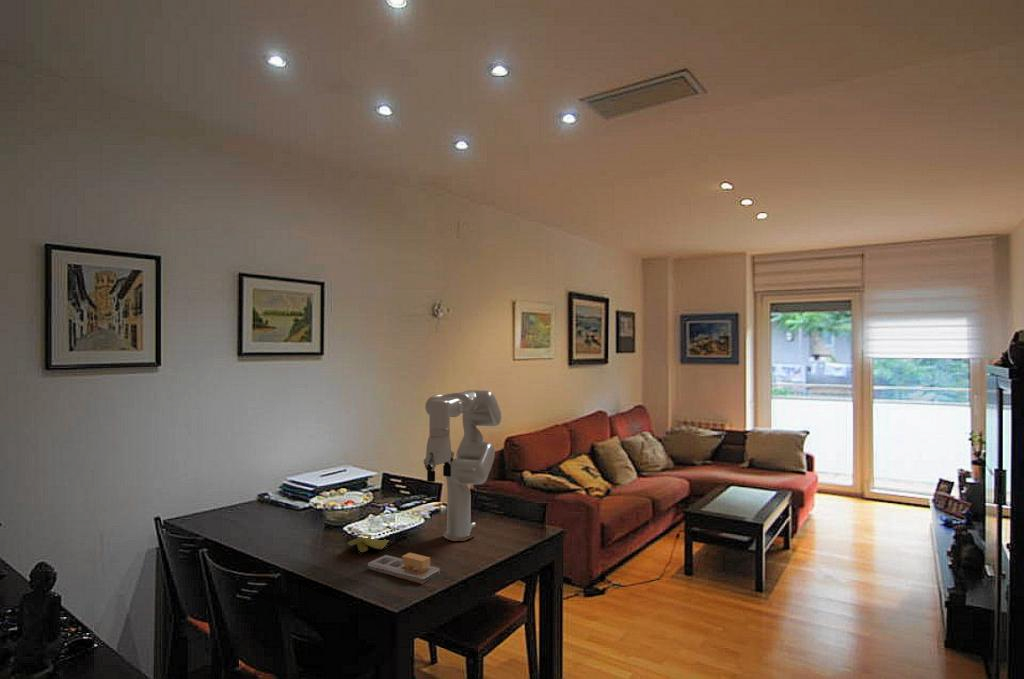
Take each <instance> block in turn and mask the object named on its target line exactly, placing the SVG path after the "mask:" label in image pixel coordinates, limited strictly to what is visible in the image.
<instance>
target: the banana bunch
mask: <svg viewBox="0 0 1024 679" xmlns="http://www.w3.org/2000/svg"><path fill="white" fill-rule="evenodd" d="M385 527H386V528H389V529H392V528H391V526H390V525H387V526H385ZM388 542H389V540H386V539H384V540H378V539H373V540H372V539H371V537H368V538H363V537H362V536H359V537H357V538H354V539H352V540H350V541H348V542H347V544H348V545H349V546H350V547H352V546H353V547H354V546H355V545H357V550H358V552H359V551H360V552H362V553H364V552H367V551H369V547H370V548H372V549H376V550H384V549H385V548H384V547H386V546H385V545H387V543H388ZM383 548H384V549H383ZM386 548H387V547H386ZM360 552H359V553H360Z"/></svg>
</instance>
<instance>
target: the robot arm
mask: <svg viewBox="0 0 1024 679" xmlns="http://www.w3.org/2000/svg"><path fill="white" fill-rule="evenodd" d="M424 409H425V411H426V414H428V416H429V424H428V425H429V429H428V430H429V434H428V436H429V437H428V438H427V443H426V449H425V450H426V452H425V458H424V459H423V464H424V468H425V471H426V472H427V474H426V481H427V482H431V483H435V482H436V471H435V468H436V466H439V465H442V464H443V466H442V467H443V469H442V471H443V472H442V474H443V475H442V476H443V477H445V479H446V481H445V482H446V489H447V490H446V492H447V493H446V498H447V500H446V507H447V508H446V509H447V510H446V515H447V516H446V531H445V532H443V534H442V537H443V536H444V537H446V538H448V537H449V539H450V537H452V538H462V537H466V536H469V535H470V532H471V531H472V529H473V528H475V527H476V525H477V524H476V522H475V521H474V522H471V518H472V517H471V515H472V514H471V511H472V510H471V507H472V506H471V504H472V503H471V502H472V500H471V499H472V498H471V497H472V494H471V490H470V487H469V486H468V485H483V484H485V483H486V481H487V480H488V477H489V475H490V472H491V469H492V467H493V464H494V460H495V455H496V449H495V446H494V445H493V444H492V443H491V442H489V441H488V442H487V441H483V440H484V436H483V434H482V432H481V430H480V429H479V428H478V427H477V426H480V427H497V426H499V425H500V423H501V422H502V411H501V409H500V406H499V404H498V401H497V398H496V397H495V395H494V393H493V392H491V390H479V389H478V390H477V389H476V390H475V389H474V390H473V389H469V390H464V391H461V392H454V393H453V392H452V393H445V394H443V393H442V394H436V395H432V396H430V397H428V398H427V400H426V403H425V408H424ZM461 415H462V426H463V427H462V428H463V433H464V434H463V437H462V439H461V441H460V444H459V445H458V448H457V451H456V454H455V452H453V451H452V443H451V435H450V433H451V432H450V431H451V430H450V427H451V426H450V425H451V423H450V421H451V418H456V417H459V416H461ZM455 455H456V458H454V456H455Z"/></svg>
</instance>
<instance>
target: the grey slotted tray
mask: <svg viewBox="0 0 1024 679" xmlns="http://www.w3.org/2000/svg"><path fill="white" fill-rule="evenodd" d="M384 561H388V563H386V564H382V562H384ZM396 564H400V565H401V566H399V567H394V566H393V565H396ZM368 566H370V567H374V568H379V569H384V570H388V571H392V572H395V573H399V574H403V575H407V576H412V577H416V578H419V579H425V578H427V577H429V576H430V575H432V574H434V573H436V572H438V571H439V572H440V567H437V566H433V565H429V566H428V571H427V572H425V573H423V574H421V573H417V567H415V568H414V569H412V570H410V571H409V570H405V564H402V557H396V556H394V555H393V556H392V555H387V554H385V555H383V556H380V557H377V558H375V559H374V560H371V561H369V562H367V567H368Z"/></svg>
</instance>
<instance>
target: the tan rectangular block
mask: <svg viewBox="0 0 1024 679" xmlns="http://www.w3.org/2000/svg"><path fill="white" fill-rule="evenodd" d="M401 559H402V564H405V570H409V571H410V570H412V569H414V568H415V567H417V573H421V574H423V573H425V572H427V571H428V566H431V557H430V556H427V555H426V556H425V555H421V554H417V553H413V552H407V553H406V554H404V555H402V556H401Z"/></svg>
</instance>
